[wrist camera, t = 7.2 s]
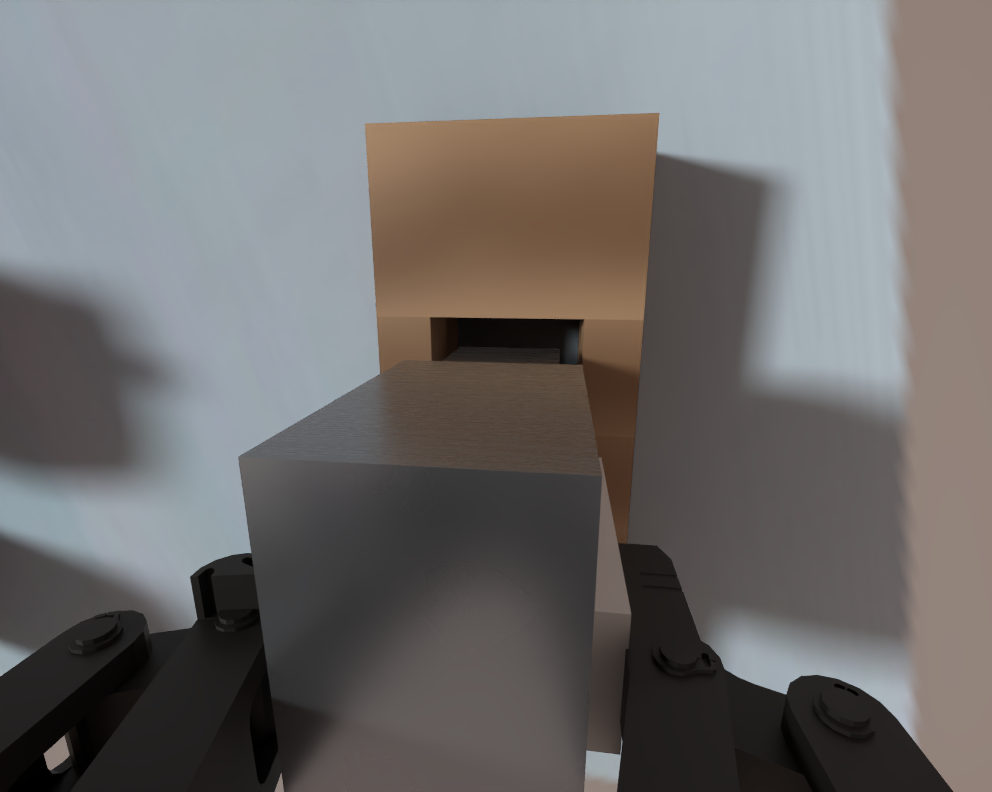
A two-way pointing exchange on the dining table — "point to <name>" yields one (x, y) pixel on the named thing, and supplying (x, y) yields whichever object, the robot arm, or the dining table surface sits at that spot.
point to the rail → (520, 247)
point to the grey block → (432, 578)
